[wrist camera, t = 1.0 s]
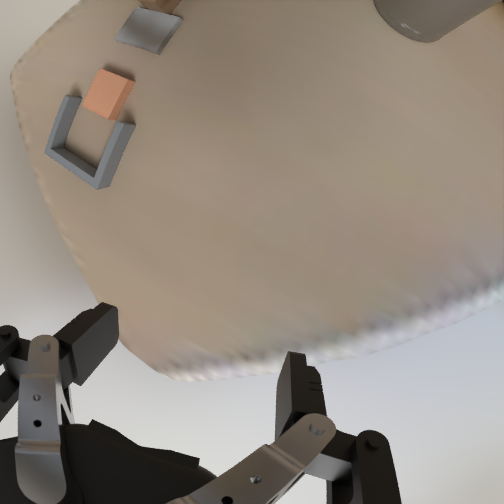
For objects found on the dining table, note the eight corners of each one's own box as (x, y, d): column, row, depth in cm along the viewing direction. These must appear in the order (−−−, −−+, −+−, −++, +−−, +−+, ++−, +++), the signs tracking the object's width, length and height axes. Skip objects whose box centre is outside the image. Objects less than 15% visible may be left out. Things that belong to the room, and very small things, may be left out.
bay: (77, 96, 26) (65, 94, 24) (135, 125, 27) (124, 124, 24) (56, 151, 29) (44, 152, 26) (109, 186, 30) (97, 189, 27)
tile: (109, 71, 25) (100, 68, 23) (136, 82, 25) (128, 79, 23) (91, 106, 27) (81, 105, 25) (117, 120, 27) (108, 119, 25)
